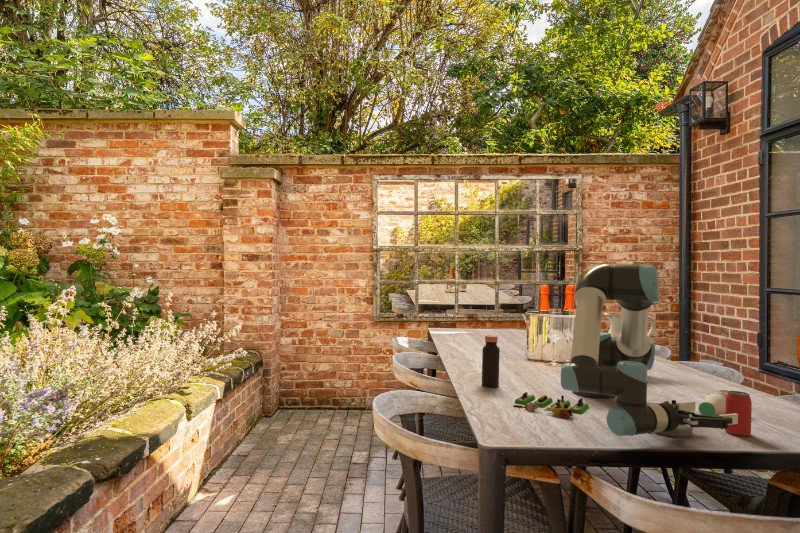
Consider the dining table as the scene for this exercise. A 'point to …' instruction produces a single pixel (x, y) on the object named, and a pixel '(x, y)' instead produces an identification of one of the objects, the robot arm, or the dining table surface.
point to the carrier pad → (678, 432)
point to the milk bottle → (714, 403)
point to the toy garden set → (557, 408)
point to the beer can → (739, 412)
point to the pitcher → (616, 324)
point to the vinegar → (490, 362)
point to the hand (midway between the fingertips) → (714, 412)
